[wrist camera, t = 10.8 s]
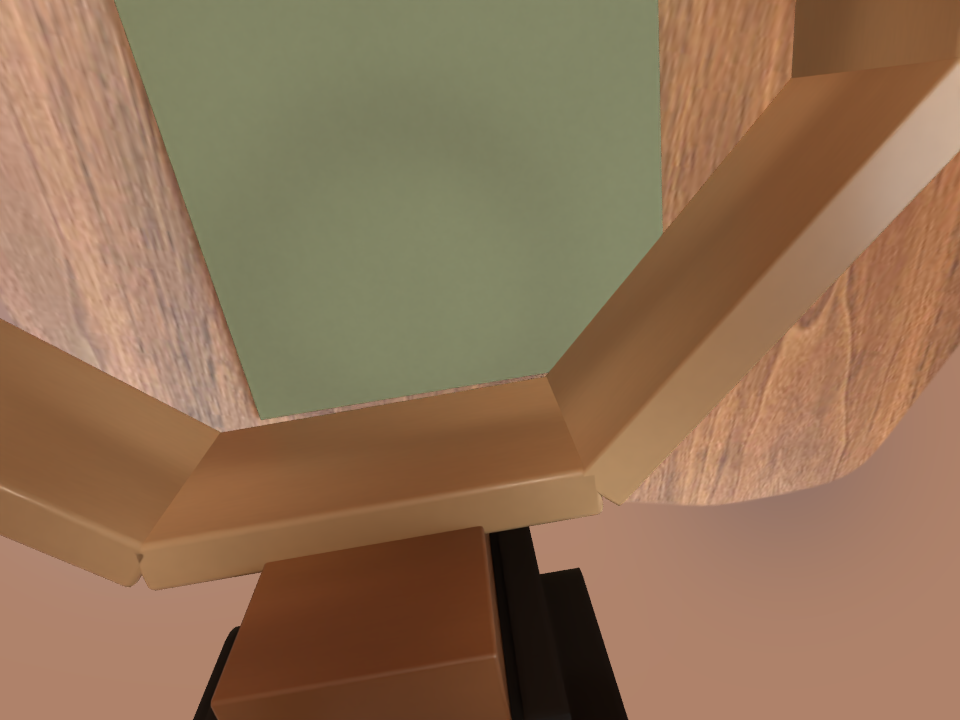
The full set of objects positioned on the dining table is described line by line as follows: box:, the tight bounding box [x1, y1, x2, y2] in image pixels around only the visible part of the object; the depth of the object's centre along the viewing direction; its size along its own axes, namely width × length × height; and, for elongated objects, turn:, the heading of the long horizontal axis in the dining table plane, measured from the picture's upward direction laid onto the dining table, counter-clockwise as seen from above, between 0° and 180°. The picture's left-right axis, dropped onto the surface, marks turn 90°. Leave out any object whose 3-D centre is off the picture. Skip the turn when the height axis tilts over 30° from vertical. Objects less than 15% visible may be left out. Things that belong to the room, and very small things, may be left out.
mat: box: [114, 0, 663, 420], centre depth 28 cm, size 24×24×1 cm
